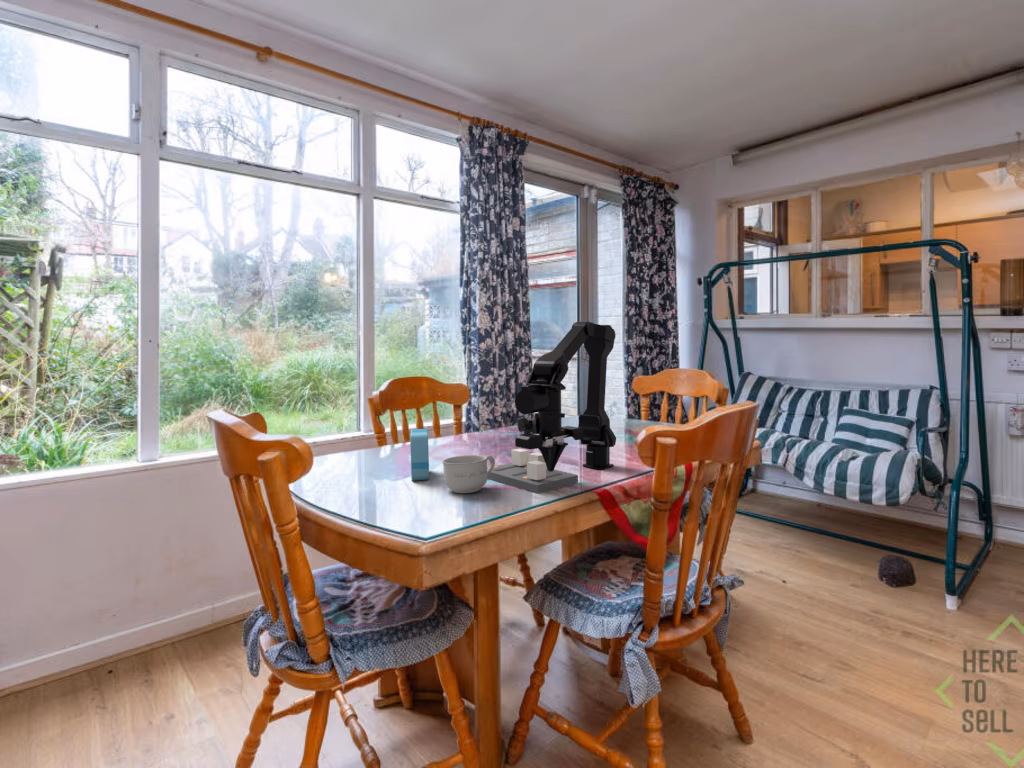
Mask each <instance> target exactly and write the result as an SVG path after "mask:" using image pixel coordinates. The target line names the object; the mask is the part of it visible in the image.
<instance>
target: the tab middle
mask: <svg viewBox="0 0 1024 768" xmlns="http://www.w3.org/2000/svg"><path fill="white" fill-rule="evenodd" d="M528 456H529V462H531V461H540V462H544V463H545V461H544V458H543V456H542V454H541V452H538V451H536V452H531V453H528ZM546 469H547V466H546Z"/></svg>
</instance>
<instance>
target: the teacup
mask: <svg viewBox="0 0 1024 768" xmlns="http://www.w3.org/2000/svg"><path fill="white" fill-rule="evenodd" d="M488 460H489V465H488V464H487V461H488ZM442 464H443V465H442V466H443V468H442V469H443V476H444V477H443V478H444V483H445V486H446V488H448V489H450V490H451V491H452V492H454V493H456V494H471V493H476V492H479V491H480V490H482V488H483V487H484V486H485V485H486V484H487V481H488V479H487V475H488V474H489V473H490V472H491V471H492V470H493V468H494V466H496V461H495V458H494V457H493V456H492V455H490V454H489V455H477V454H475V455H474V454H467V455H465V454H464V455H458V456H457V455H455V456H452V457H447V458H445V459H443V460H442ZM487 468H488V469H487Z"/></svg>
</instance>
